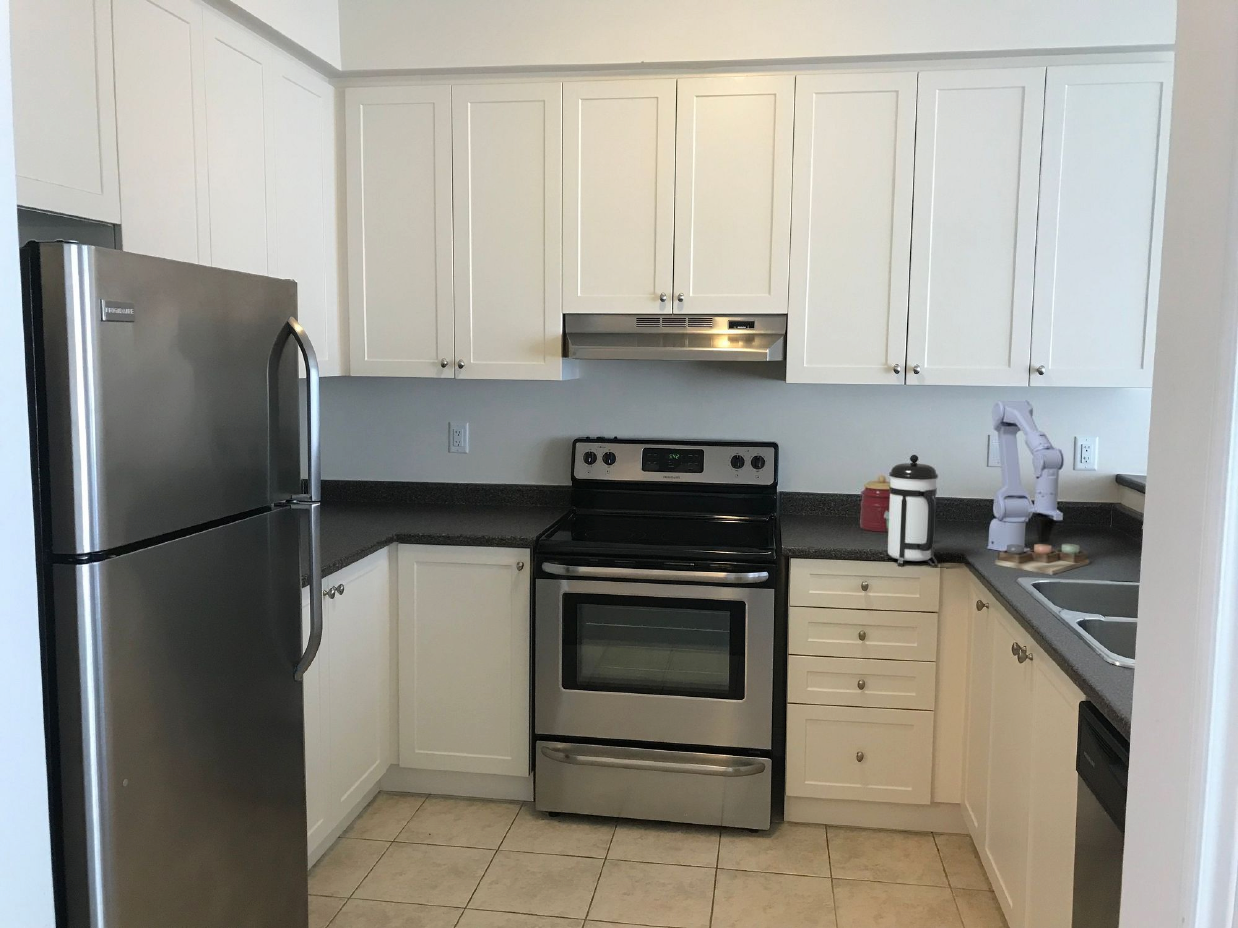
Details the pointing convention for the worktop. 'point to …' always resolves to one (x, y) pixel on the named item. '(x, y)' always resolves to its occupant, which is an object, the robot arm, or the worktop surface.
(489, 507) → the worktop surface
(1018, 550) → the charcoal button
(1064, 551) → the sage button
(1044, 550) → the terracotta button
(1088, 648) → the worktop surface
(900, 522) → the coffee press
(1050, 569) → the button panel
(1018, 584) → the worktop surface
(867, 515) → the canister
